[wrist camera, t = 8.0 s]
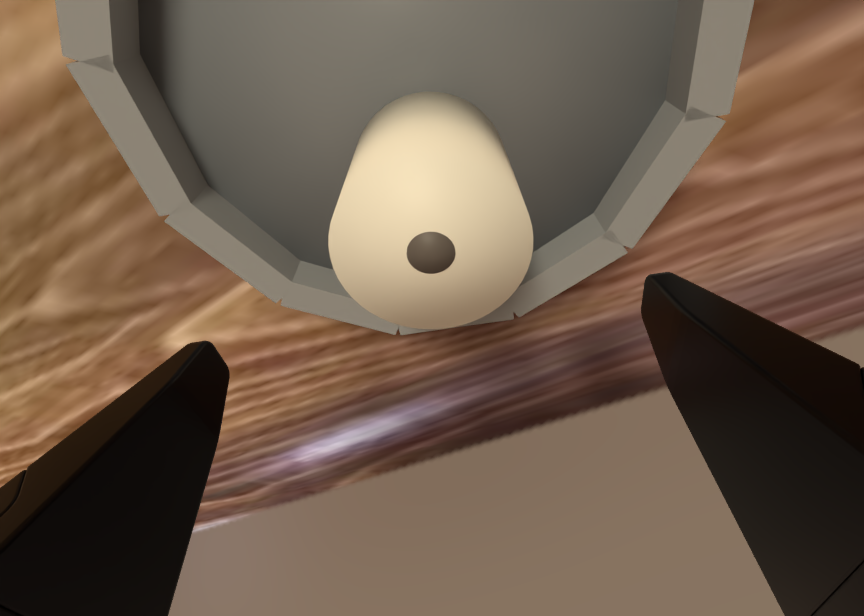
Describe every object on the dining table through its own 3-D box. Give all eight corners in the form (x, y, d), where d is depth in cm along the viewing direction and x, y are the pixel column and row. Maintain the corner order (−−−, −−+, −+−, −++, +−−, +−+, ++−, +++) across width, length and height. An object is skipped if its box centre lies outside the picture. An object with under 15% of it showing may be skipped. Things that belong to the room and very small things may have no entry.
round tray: (791, -563, 8) (913, -733, 6) (661, 256, 19) (689, 294, 17) (-60, -286, 10) (-186, -345, 8) (264, 315, 20) (246, 357, 18)
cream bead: (498, 76, 13) (528, 133, 9) (511, 226, 16) (537, 316, 12) (334, 109, 14) (296, 175, 10) (376, 248, 17) (360, 340, 13)
